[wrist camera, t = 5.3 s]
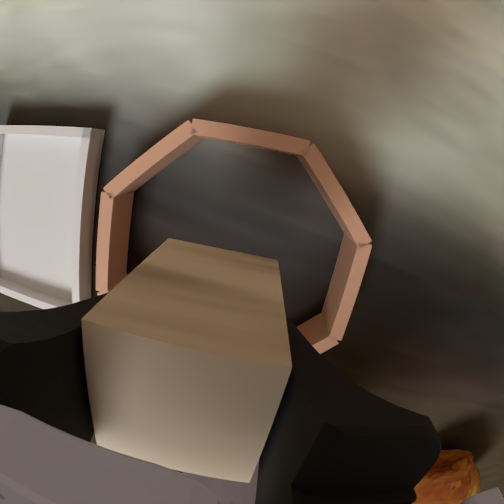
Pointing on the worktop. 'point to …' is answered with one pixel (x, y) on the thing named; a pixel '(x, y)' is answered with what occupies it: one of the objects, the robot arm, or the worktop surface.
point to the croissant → (449, 479)
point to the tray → (47, 212)
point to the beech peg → (189, 360)
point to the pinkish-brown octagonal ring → (192, 132)
